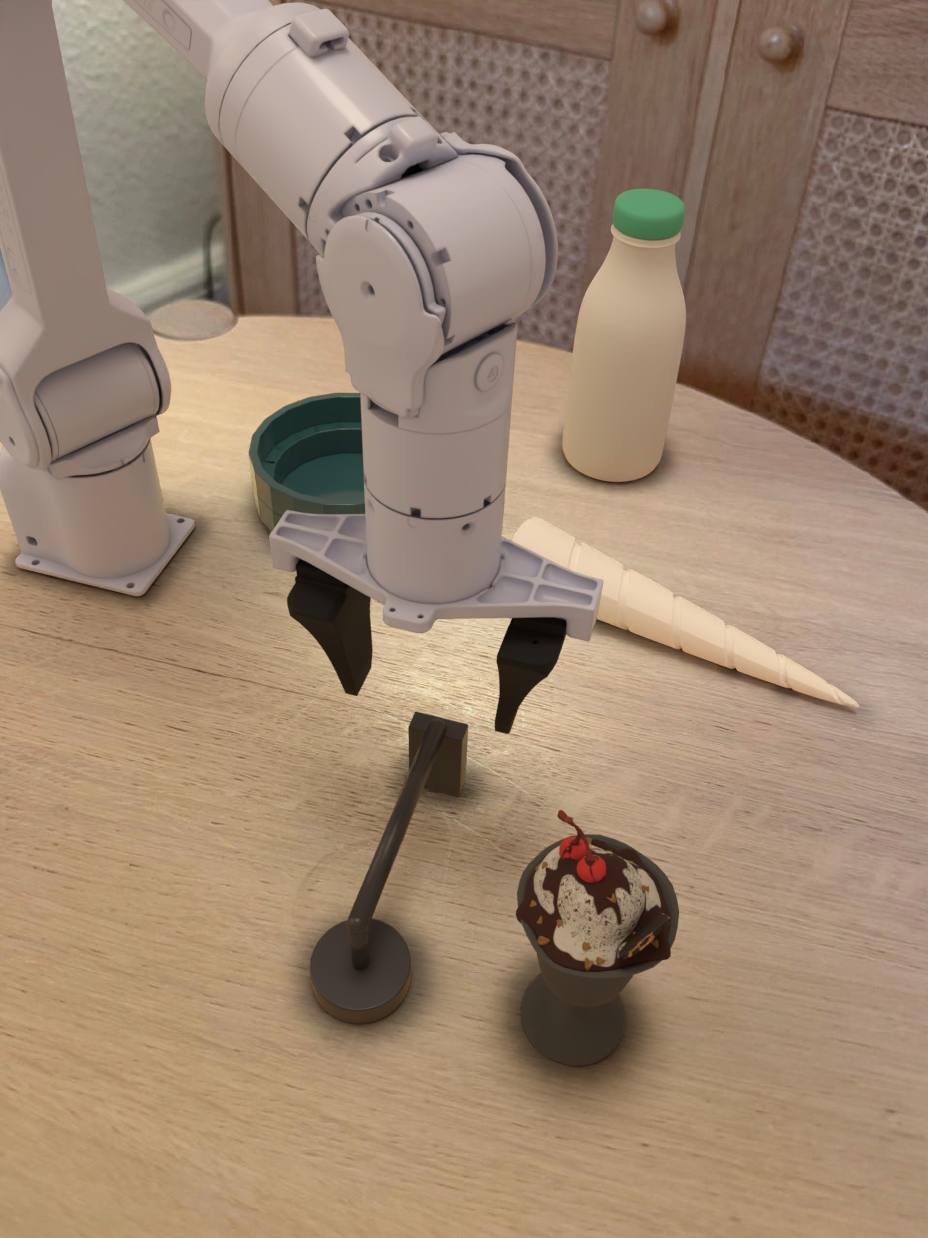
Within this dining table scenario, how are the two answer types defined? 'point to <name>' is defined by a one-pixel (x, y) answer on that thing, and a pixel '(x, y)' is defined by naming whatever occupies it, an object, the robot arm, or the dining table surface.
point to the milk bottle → (628, 344)
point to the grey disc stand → (368, 948)
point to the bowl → (309, 458)
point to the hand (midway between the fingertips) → (431, 698)
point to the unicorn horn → (671, 615)
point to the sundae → (590, 940)
